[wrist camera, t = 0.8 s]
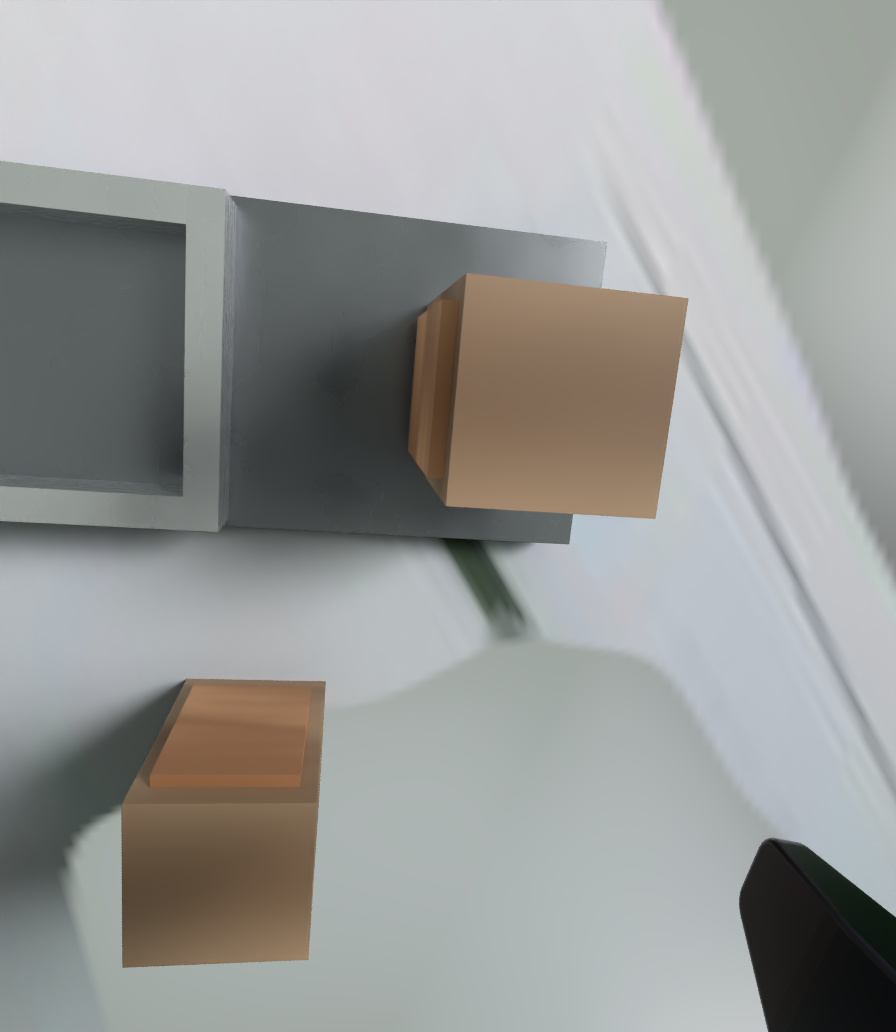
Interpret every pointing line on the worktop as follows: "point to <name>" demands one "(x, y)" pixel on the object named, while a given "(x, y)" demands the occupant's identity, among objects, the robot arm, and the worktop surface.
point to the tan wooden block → (225, 827)
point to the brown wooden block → (545, 396)
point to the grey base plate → (231, 357)
